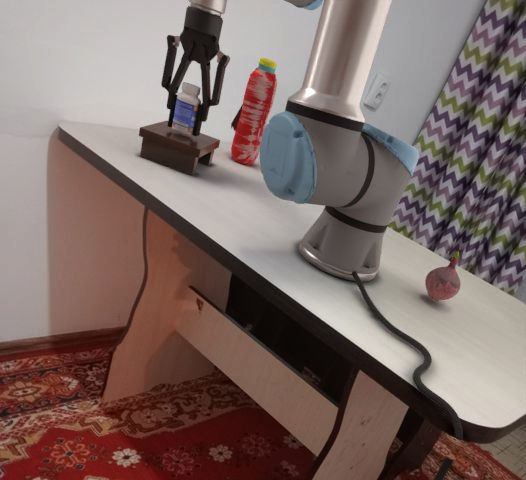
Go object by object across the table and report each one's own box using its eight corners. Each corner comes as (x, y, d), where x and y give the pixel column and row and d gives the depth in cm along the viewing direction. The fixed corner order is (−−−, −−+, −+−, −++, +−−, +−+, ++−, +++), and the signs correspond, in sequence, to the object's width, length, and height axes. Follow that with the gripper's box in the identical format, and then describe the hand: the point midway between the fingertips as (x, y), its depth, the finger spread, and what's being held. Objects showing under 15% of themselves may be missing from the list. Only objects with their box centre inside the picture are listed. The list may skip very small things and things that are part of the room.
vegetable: (423, 289, 89) (450, 242, 83) (452, 305, 86) (481, 258, 81) (411, 296, 84) (439, 246, 79) (442, 313, 82) (472, 263, 76)
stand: (194, 177, 103) (200, 149, 99) (135, 155, 103) (139, 127, 99) (214, 164, 116) (220, 140, 113) (162, 145, 116) (166, 120, 113)
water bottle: (215, 150, 128) (238, 47, 115) (237, 153, 134) (262, 55, 120) (239, 166, 122) (268, 60, 108) (262, 169, 127) (292, 67, 113)
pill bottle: (192, 137, 104) (202, 90, 99) (169, 129, 103) (177, 81, 98) (196, 133, 108) (205, 88, 103) (173, 125, 107) (182, 79, 102)
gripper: (252, 27, 96) (225, 142, 109) (169, -3, 96) (152, 115, 109) (244, 24, 90) (216, 146, 102) (155, -8, 90) (139, 118, 102)
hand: (183, 130), depth 106 cm, fingers closed on pill bottle, 5 cm apart
